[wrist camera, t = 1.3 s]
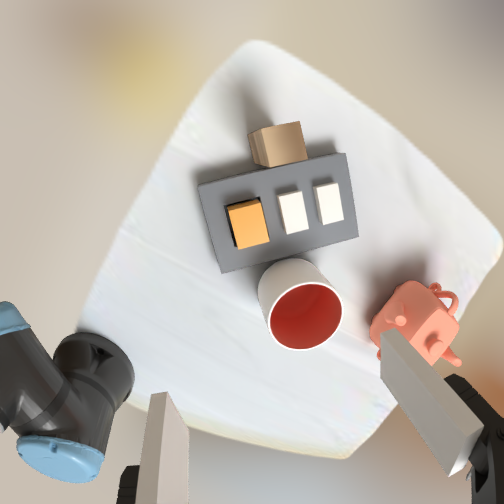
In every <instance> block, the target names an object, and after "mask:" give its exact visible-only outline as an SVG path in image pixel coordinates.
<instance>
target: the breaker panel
mask: <svg viewBox="0 0 504 504" xmlns="http://www.w3.org/2000/svg"><path fill="white" fill-rule="evenodd" d="M198 191H199V195H200V199H201V202H202V206H203V210H204V213H205V217H206V221H207V224H208V228H209V231H210V235H211V239H212V242H213V246H214V249H215V253H216V256H217V260H218V263H219V267H220V270H221V274H223V273H227V272H231V271H235V270H238V269H242V268H246V267H250V266H253V265H257V264H261V263H265V262H268V261H272V260H276V259H280V258H283V257H287V256H291V255H294V254H298V253H302V252H306V251H309V250H313V249H317V248H320V247H324V246H328V245H331V244H335V243H338V242H342V241H346V240H349V239H353V238H357V237H359V234H358V226H357V219H356V212H355V205H354V199H353V192H352V186H351V180H350V175H349V169H348V163H347V158H346V153H334V154H329V155H324V156H319V157H314V158H309V159H306V160H302V161H297V162H292V163H288V164H283V165H279V166H274V167H268V168H263V169H259V170H255V171H251V172H247V173H243V174H239V175H235V176H231V177H227V178H223V179H219V180H215V181H211V182H208V183H204V184H200V185H198ZM255 197H258V200H259V202H260V203H261V206H262V210H263V215H264V219H265V224H266V228H267V232H268V237H269V241H270V242H266V243H262V244H258V245H254V246H251V247H247V248H243V249H239V250H238V246H237V243H236V241H233V239H232V236H231V232H230V228H229V224H228V220H227V216H226V213H225V209H224V205H227V204H231V203H235V202H239V201H243V200H247V199H251V198H255Z"/></svg>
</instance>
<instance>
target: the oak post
mask: <svg viewBox="0 0 504 504" xmlns="http://www.w3.org/2000/svg"><path fill="white" fill-rule="evenodd" d="M248 139H249V143H250V147H251V151H252V156H253V160H254V163H255V164H259V165H263V166H267V167H274V166H279V165H283V164H288V163H292V162H297V161H302V160H306V159H308V157H307V152H306V147H305V143H304V138H303V134H302V129H301V125H300V121H297V122H292V123H286V124H281V125H276V126H271V127H266V128H262V129H259V130H257V131H255V132H253V133H250V134H248Z"/></svg>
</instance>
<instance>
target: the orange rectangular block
mask: <svg viewBox="0 0 504 504" xmlns="http://www.w3.org/2000/svg"><path fill="white" fill-rule="evenodd" d="M227 208H228V212H229V216H230V220H231V224H232V228H233V231H234V235H235V239H236V243H237V246H238V250H239V249H243V248H247V247H251V246H254V245H258V244H262V243H266V242H270V241H269V237H268V232H267V228H266V224H265V219H264V215H263V210H262V206H261V203H260V202H259V201H258V200H257V199H255V200H251V201H247V202H243V203H239V204H235V205H231V206H227Z"/></svg>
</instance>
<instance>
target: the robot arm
mask: <svg viewBox="0 0 504 504" xmlns="http://www.w3.org/2000/svg"><path fill="white" fill-rule="evenodd" d="M30 327H31V326H30V325H29V324H28V323H26V321H25V320H24V318H23V317H22V316H21V314H20V313H19V311H18V310H17V308H16V307H15V306H14V305H13V304H12V303H10V302H6V301H4V302H0V433H3V432H4V431H5V430H6V429H7V427H8V426H10V427H11V428H12V429H13V430H14V432H15V433H16V434H17V435H18V436H19V439H18V440H17V447H16V448H17V451H18V454H19V455H20V457H21V458H22V459H23V460H24V461H25V462H26V463H27V464H28V465H29V466H31V467H32V468H34V469H36V470H37V471H39V472H40V473H42V474H44V475H47V476H49V477H51V478H54V479H57V480H60V481H64V482H70V483H86V482H89V481H92V480H93V479H95V478H96V477H97V475H98V473H99V471H100V467H101V464H102V462H103V461H104V458H105V457H104V456H105V451H106V447H107V443H108V438H109V434H110V430H111V426H112V421H113V418H114V414H115V412H116V411H117V409H118V408H119V407H120V406H121V405H122V403H123V402H124V401H125V400H126V399H127V398H128V397H129V395H130V393H131V391H132V388H133V384H134V378H135V376H134V370H133V367H132V364H131V362H130V360H129V359H128V357H127V356H126V355H125V353H124V352H123V351H122V350H121V349H120V348H119V347H117V346H116V345H115V344H114V343H112V342H111V341H109V340H107V339H105V338H103V337H101V336H98V335H95V334H90V333H75V334H71V335H69V336H67V337H66V338H64V339H63V340H62V341H61V343H60V344H59V346H58V347H57V349H56V350H55V353H54V356H53V360H52V359H51V357H50V356H49V354H48V353H47V352H46V350H45V349H44V347H43V346H42V345H41V343H40V342H39V340H38V339H37V337H36V336H35V334H34V333H33V331H32V330H31V328H30ZM380 347H381V375H380V378H381V379H382V380H383V382H384V383H385V385H386V386H387V388H388V389H389V390H390V392H391V393H392V395H393V396H394V398H395V399H396V400H397V402H398V403H399V405H400V406H401V408H402V409H403V411H404V412H405V413H406V415H407V416H408V418H409V419H410V421H411V422H412V423H413V425H414V427H415V428H416V429H417V431H418V432H419V434H420V435H421V437H422V438H423V440H424V441H425V443H426V444H427V446H428V447H429V449H430V450H431V452H432V453H433V455H434V456H435V458H436V459H437V461H438V462H439V464H440V465H441V467H442V468H443V470H444V471H445V473H446V474H447V476H448V477H449V476H451V475H453V474H454V473H456V472H458V471H459V470H461V469H463V468H464V467H465V465H466V463H467V461H468V460H469V461H470V462H471V464H472V467H471V469H470V471H469V473H468V474H467V477H466V481H467V480H469V478H470V477H471V482H472V483H471V484H472V504H504V418H502V417H501V416H500V415H499V414H498V413H497V412H496V411H495V410H494V409H493V408H492V407H491V406H490V405H489V404H488V403H487V401H486V400H485V399H484V398H483V397H481V395H480V394H478V392H477V391H476V390H475V389H474V388H472V386H471V385H470V384H469V383H468V382H467V381H466V380H465V378H462V377H460V376H458V375H456V374H452V375H450V376H448V377H446V378H444V379H443V378H442V377H441V376H440V375H439V374H438V373H437V372H436V371H435V369H434V368H433V367H432V366H431V365H430V364H429V363H428V362H427V361H426V360H425V359H424V358H423V357H422V355H421V354H420V353H419V352H418V351H417V350H416V349H415V348H414V347H413V346H412V345H411V344H410V343H409V342H408V341H407V340H406V338H405V337H404V336H403V335H402V334H401V333H400V332H399V331H398V330H397V329H396V328H393V329H390V330H387V331H385V332H382V333H380ZM188 462H189V430H188V428H187V426H186V424H185V423H184V421H183V419H182V417H181V416H180V414H179V412H178V410H177V409H176V407H175V405H174V403H173V401H172V399H171V398H170V396H169V394H168V392H162V393H156V394H151V399H150V404H149V410H148V416H147V423H146V429H145V435H144V442H143V448H142V455H141V462H140V465H135V466H127V467H126V469H125V470H124V472H123V473H122V475H121V478H120V484H119V490H118V498H117V502H116V504H189V493H188V492H189V489H188V488H189V479H188V477H189V476H188V475H189V474H188V473H189V471H188V470H189V464H188Z"/></svg>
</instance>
